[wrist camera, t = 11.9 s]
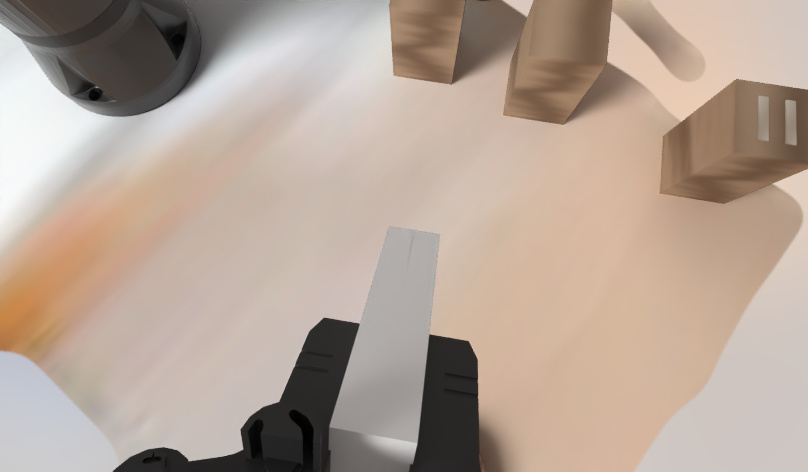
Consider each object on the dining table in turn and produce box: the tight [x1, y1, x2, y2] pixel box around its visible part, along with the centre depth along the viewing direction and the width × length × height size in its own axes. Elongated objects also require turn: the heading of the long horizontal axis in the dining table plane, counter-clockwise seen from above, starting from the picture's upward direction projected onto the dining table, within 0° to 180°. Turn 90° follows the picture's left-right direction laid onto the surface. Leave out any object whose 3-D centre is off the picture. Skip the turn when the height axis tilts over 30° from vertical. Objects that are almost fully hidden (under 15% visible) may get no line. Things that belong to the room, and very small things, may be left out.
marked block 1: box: [660, 79, 808, 204], centre depth 38 cm, size 6×6×10 cm
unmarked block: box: [503, 0, 612, 125], centre depth 40 cm, size 6×6×10 cm
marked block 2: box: [389, 0, 466, 84], centre depth 41 cm, size 6×6×10 cm
